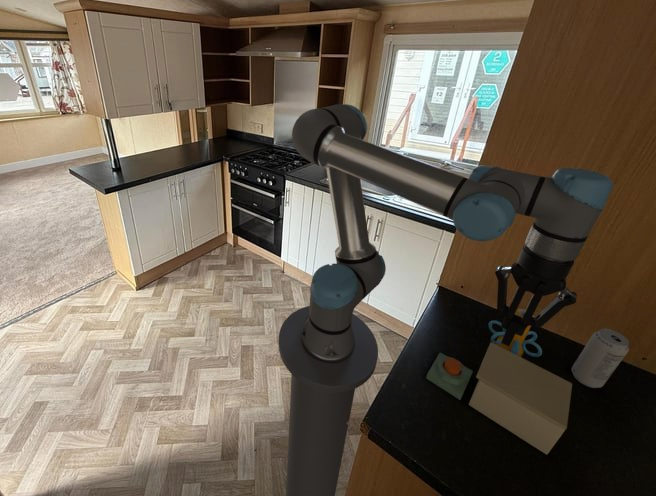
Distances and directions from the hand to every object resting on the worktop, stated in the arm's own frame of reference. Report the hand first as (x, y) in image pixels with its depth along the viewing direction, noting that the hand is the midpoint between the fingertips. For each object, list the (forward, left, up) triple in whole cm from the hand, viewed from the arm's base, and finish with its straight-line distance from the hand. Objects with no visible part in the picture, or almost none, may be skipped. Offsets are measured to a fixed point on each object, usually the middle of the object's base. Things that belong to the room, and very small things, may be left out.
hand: (506, 340), depth 68 cm
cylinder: (+2, +16, -18) cm, 24 cm away
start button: (-7, -2, -14) cm, 16 cm away
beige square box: (+6, 0, -17) cm, 18 cm away
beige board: (+5, 0, -8) cm, 10 cm away
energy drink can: (+18, +22, -18) cm, 33 cm away
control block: (-7, -2, -17) cm, 19 cm away
